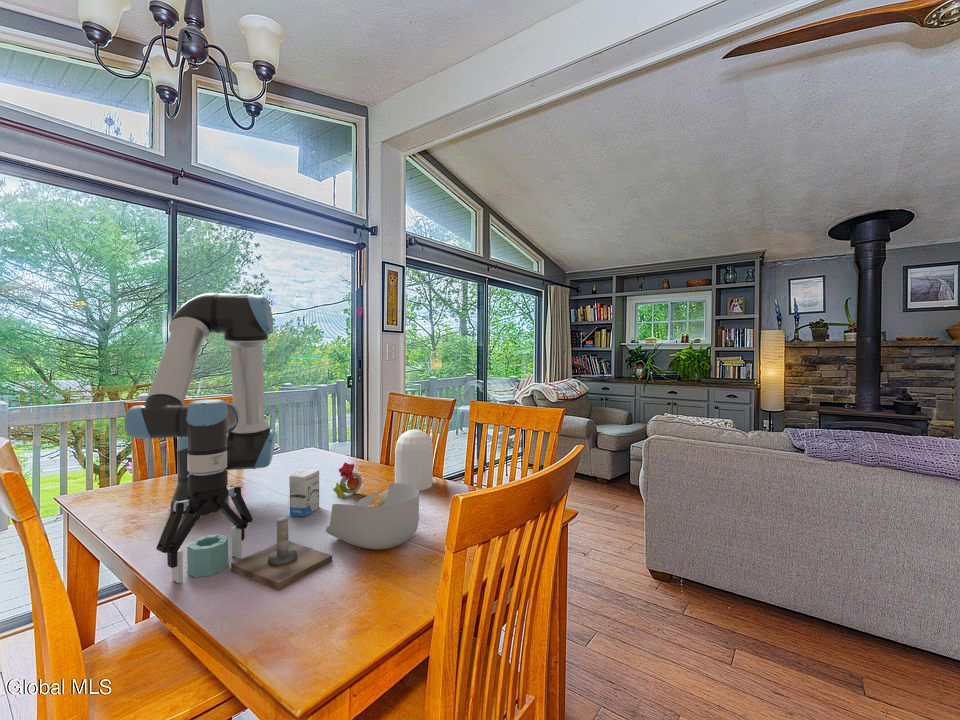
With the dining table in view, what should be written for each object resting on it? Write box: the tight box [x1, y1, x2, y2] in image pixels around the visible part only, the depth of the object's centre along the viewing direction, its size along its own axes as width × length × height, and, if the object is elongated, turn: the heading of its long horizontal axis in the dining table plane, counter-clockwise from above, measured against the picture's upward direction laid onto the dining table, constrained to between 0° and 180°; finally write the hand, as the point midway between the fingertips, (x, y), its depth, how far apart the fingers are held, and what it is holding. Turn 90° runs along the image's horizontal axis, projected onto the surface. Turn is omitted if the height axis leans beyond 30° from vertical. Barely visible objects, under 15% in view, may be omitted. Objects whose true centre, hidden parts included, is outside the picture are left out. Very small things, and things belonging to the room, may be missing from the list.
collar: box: [186, 534, 229, 578], centre depth 99 cm, size 7×7×6 cm
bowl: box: [325, 482, 420, 550], centre depth 116 cm, size 20×19×12 cm
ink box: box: [288, 468, 320, 518], centre depth 134 cm, size 9×5×12 cm, turn 168°
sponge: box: [377, 488, 389, 507], centre depth 134 cm, size 9×10×10 cm
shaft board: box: [230, 517, 333, 591], centre depth 101 cm, size 16×14×10 cm
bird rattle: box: [332, 462, 363, 499], centre depth 149 cm, size 6×11×9 cm
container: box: [394, 428, 434, 492], centre depth 160 cm, size 14×13×20 cm
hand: (208, 567), depth 99 cm, fingers open, 12 cm apart
